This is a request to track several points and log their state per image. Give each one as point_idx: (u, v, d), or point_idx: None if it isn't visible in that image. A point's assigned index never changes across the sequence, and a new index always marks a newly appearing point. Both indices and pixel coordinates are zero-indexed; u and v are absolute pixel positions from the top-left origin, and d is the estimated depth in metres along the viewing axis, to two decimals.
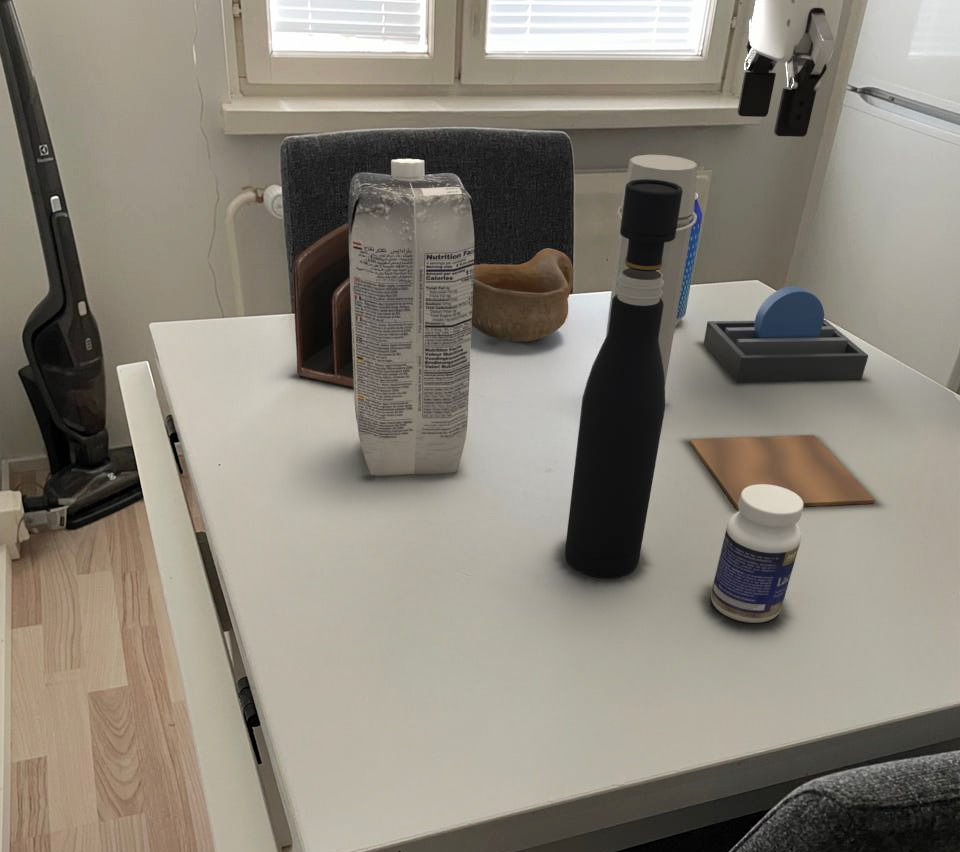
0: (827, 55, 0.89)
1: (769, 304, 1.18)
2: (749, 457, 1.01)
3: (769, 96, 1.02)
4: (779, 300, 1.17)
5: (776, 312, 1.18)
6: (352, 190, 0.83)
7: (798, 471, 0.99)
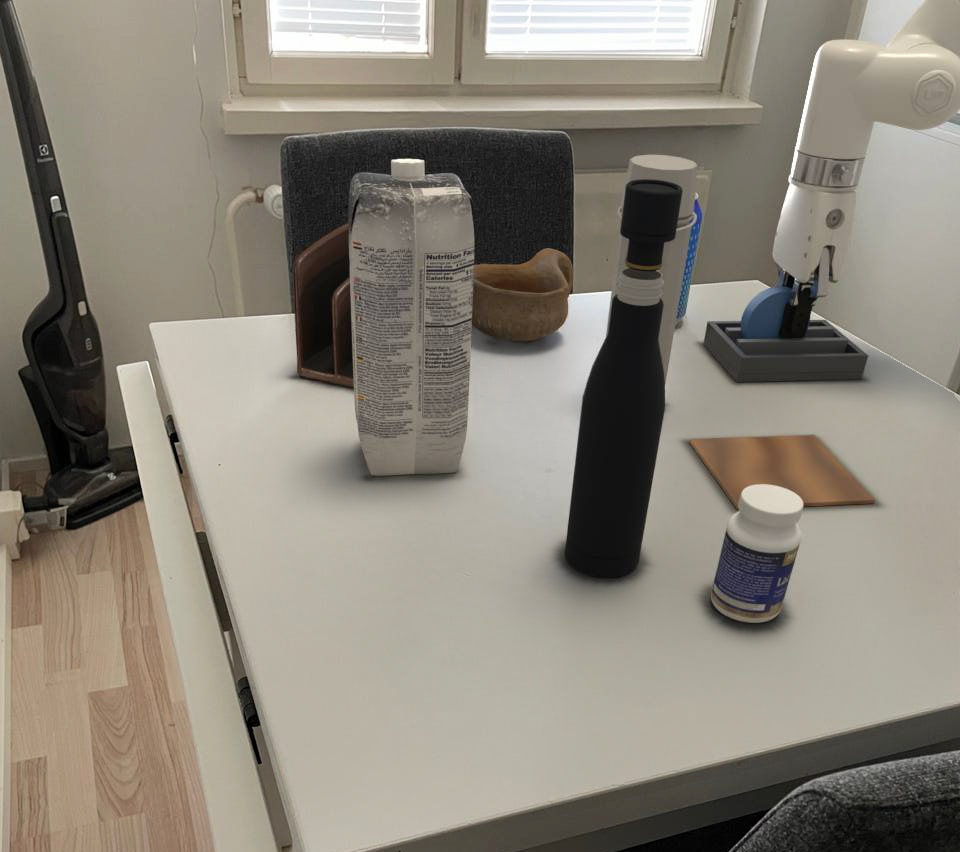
0: None
1: (747, 318, 1.19)
2: (749, 457, 1.01)
3: None
4: (755, 311, 1.18)
5: (757, 322, 1.18)
6: (352, 190, 0.83)
7: (798, 471, 0.99)
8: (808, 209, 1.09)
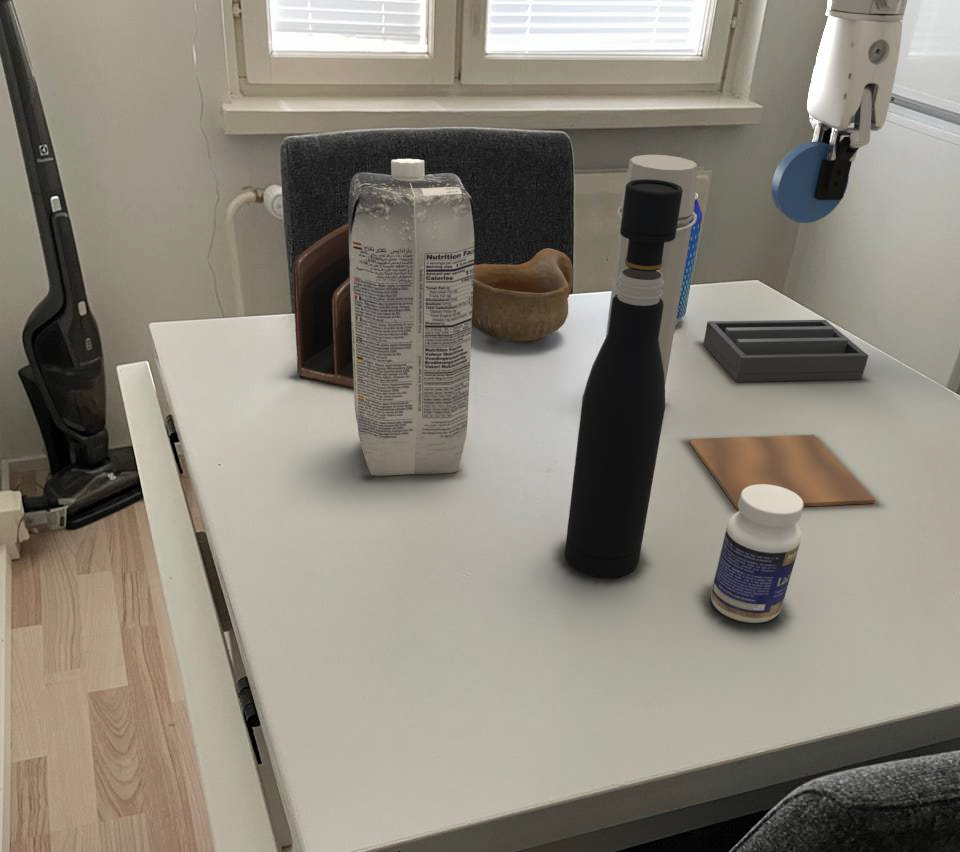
0: (861, 145, 1.03)
1: (779, 177, 1.08)
2: (749, 457, 1.01)
3: None
4: (788, 169, 1.07)
5: (790, 181, 1.08)
6: (352, 190, 0.83)
7: (798, 471, 0.99)
8: (848, 43, 0.99)
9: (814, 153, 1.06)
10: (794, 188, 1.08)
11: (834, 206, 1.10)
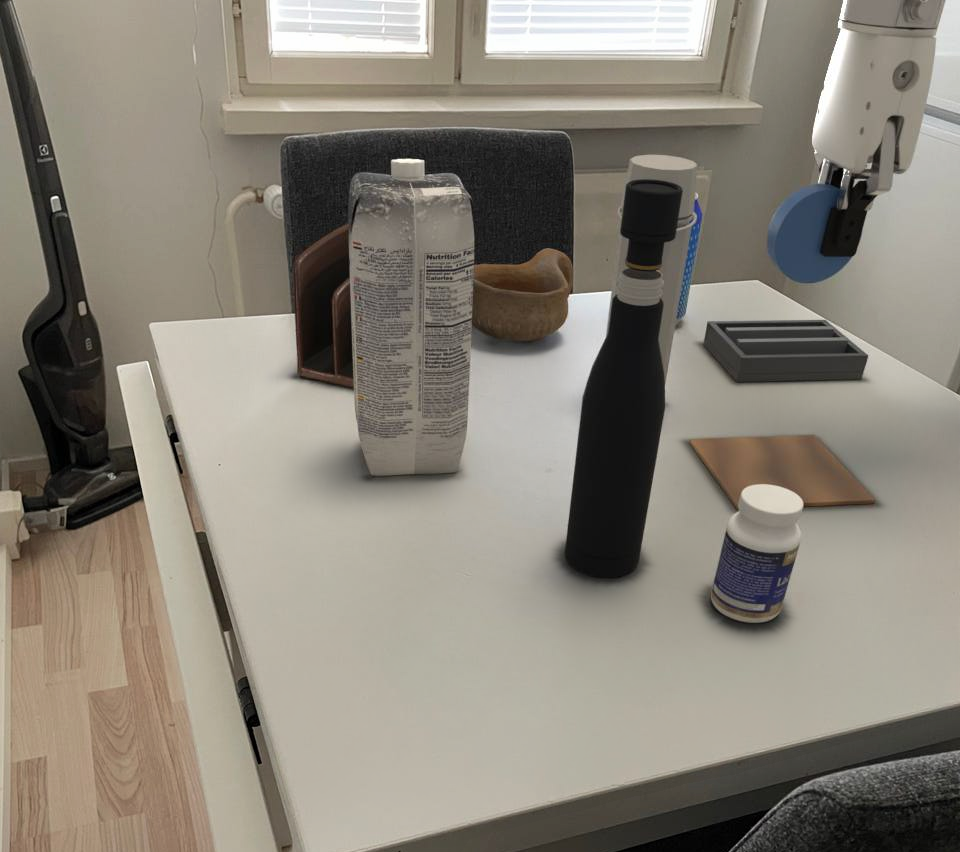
0: (881, 193, 0.81)
1: (776, 227, 0.86)
2: (749, 457, 1.01)
3: None
4: (787, 218, 0.86)
5: (790, 233, 0.86)
6: (352, 190, 0.83)
7: (798, 471, 0.99)
8: (867, 64, 0.77)
9: (820, 199, 0.85)
10: (795, 241, 0.87)
11: (844, 263, 0.89)
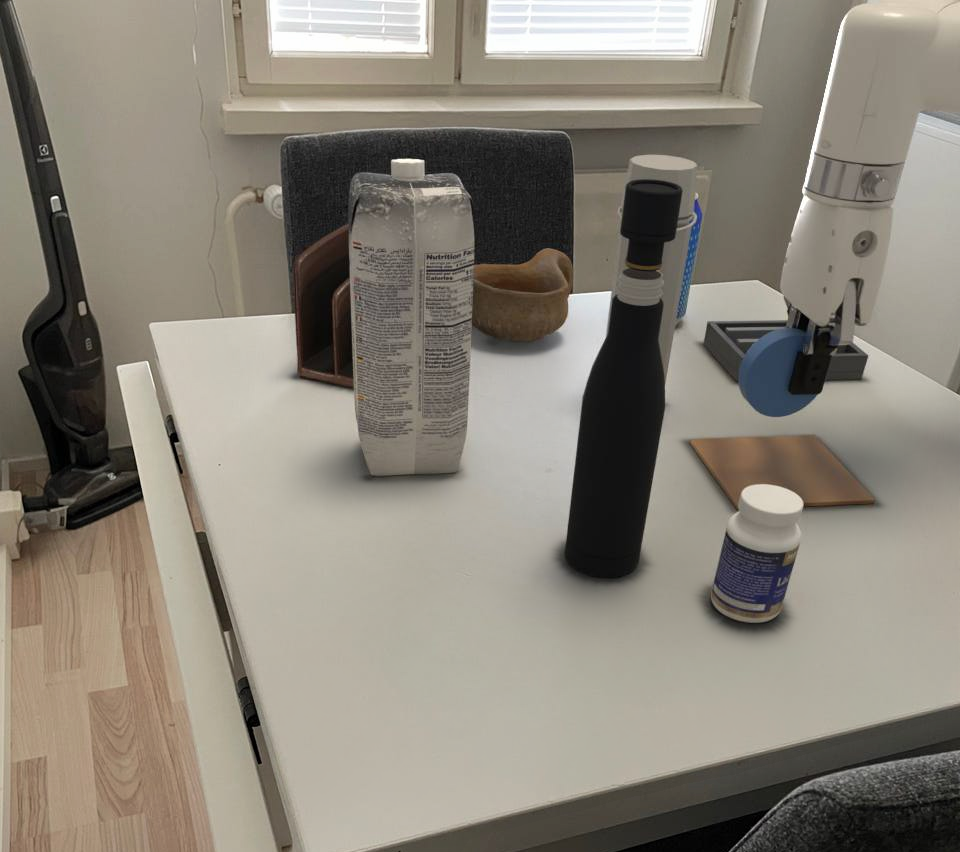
0: None
1: (746, 369, 0.92)
2: (749, 457, 1.01)
3: None
4: (756, 361, 0.91)
5: (759, 374, 0.91)
6: (352, 190, 0.83)
7: (798, 471, 0.99)
8: (829, 230, 0.83)
9: (788, 344, 0.90)
10: (764, 381, 0.92)
11: (811, 399, 0.94)
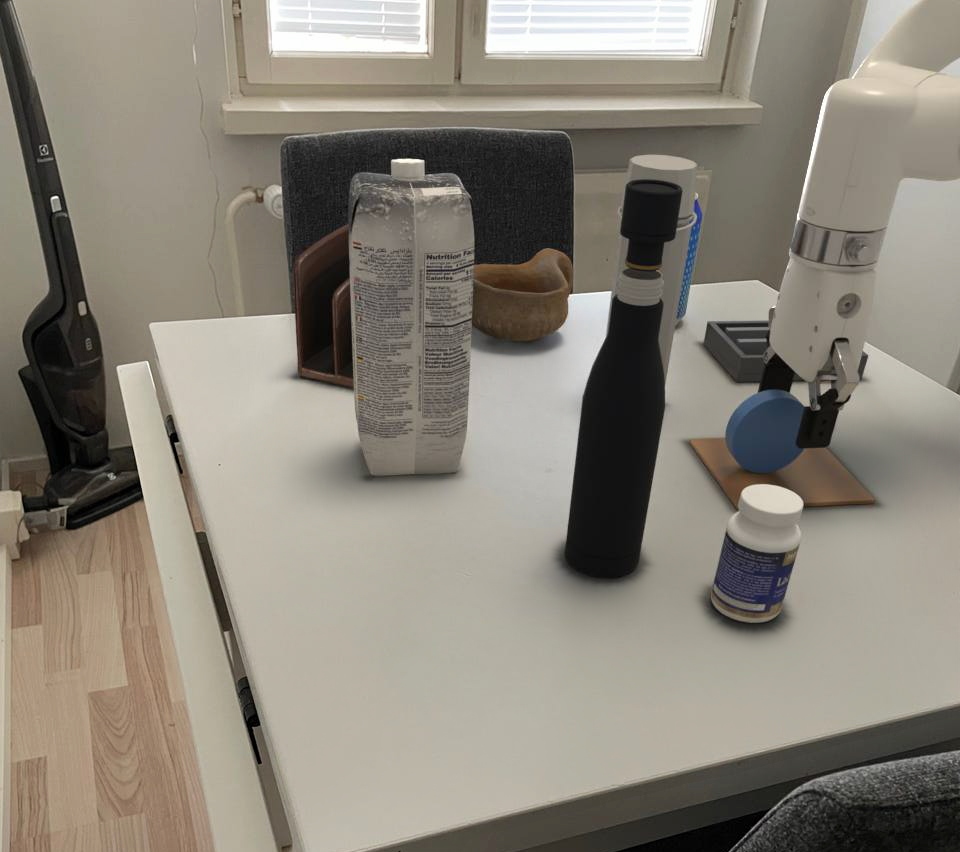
0: (851, 389, 0.86)
1: (732, 429, 0.95)
2: None
3: (789, 386, 0.99)
4: (742, 422, 0.94)
5: (745, 434, 0.95)
6: (352, 190, 0.83)
7: (798, 471, 0.99)
8: (814, 292, 0.86)
9: (771, 406, 0.94)
10: (750, 441, 0.96)
11: (796, 456, 0.98)
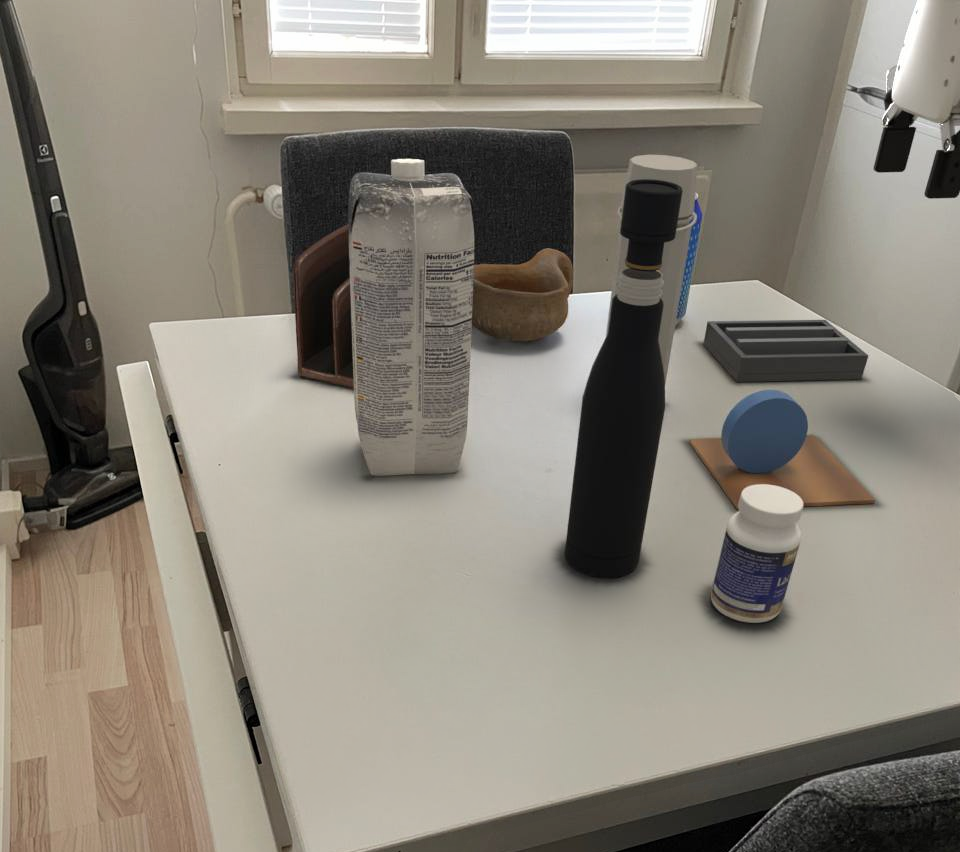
0: None
1: (727, 433, 0.95)
2: None
3: (908, 151, 0.98)
4: (736, 426, 0.94)
5: (741, 437, 0.95)
6: (352, 190, 0.83)
7: (798, 471, 0.99)
8: (951, 20, 0.84)
9: (764, 407, 0.94)
10: (746, 443, 0.96)
11: (795, 453, 0.97)
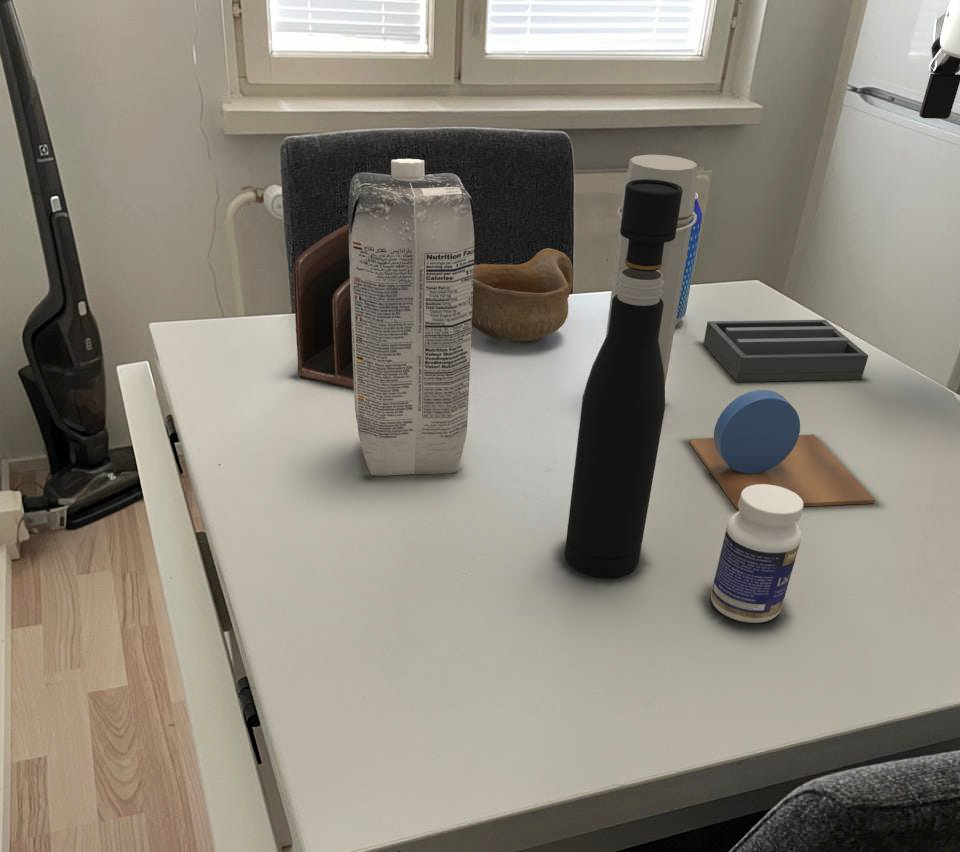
0: None
1: (718, 441, 0.96)
2: None
3: (953, 98, 1.02)
4: (725, 433, 0.95)
5: (732, 442, 0.96)
6: (352, 190, 0.83)
7: (798, 471, 0.99)
8: None
9: (750, 410, 0.94)
10: (739, 447, 0.96)
11: (792, 447, 0.97)
